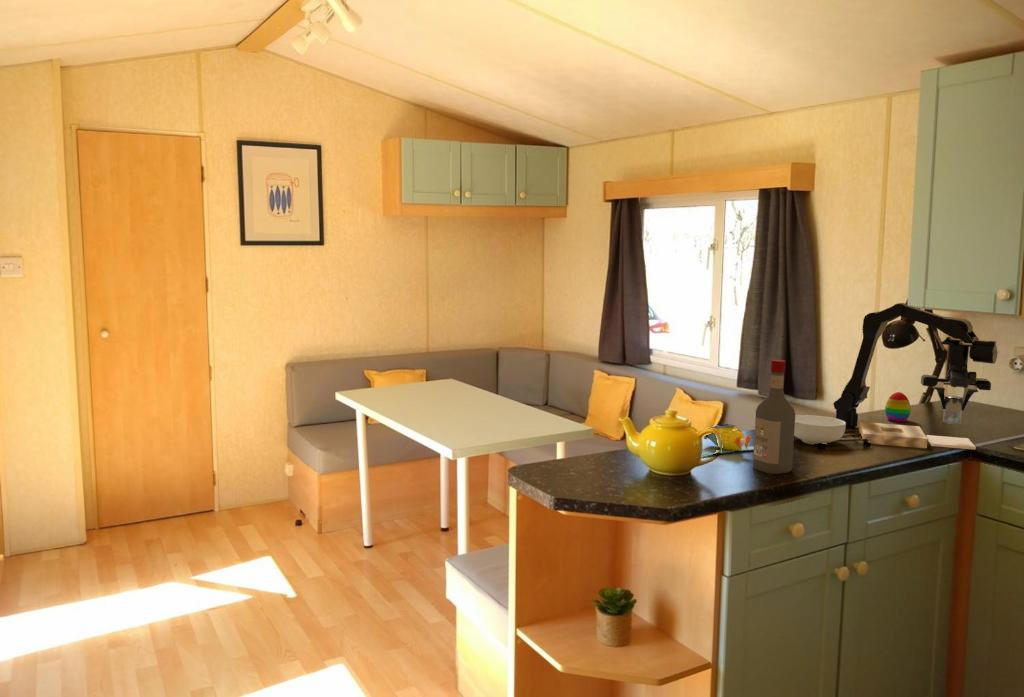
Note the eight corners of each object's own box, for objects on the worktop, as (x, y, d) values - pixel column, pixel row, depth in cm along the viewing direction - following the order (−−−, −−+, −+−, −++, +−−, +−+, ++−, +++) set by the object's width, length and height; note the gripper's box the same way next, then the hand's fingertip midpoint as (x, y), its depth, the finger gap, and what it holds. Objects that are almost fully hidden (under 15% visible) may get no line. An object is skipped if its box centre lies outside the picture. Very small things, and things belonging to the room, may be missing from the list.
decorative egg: (915, 422, 296) (917, 394, 295) (894, 423, 294) (896, 394, 293) (899, 417, 304) (901, 389, 303) (879, 418, 302) (881, 390, 301)
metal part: (944, 423, 264) (946, 397, 263) (941, 420, 268) (943, 395, 267) (962, 424, 262) (964, 399, 261) (959, 421, 267) (961, 396, 266)
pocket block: (862, 443, 265) (863, 433, 264) (858, 430, 282) (859, 421, 281) (926, 448, 259) (927, 438, 259) (918, 435, 276) (919, 426, 276)
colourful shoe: (705, 432, 239) (673, 422, 253) (704, 463, 240) (672, 451, 254) (783, 425, 251) (748, 415, 264) (781, 453, 252) (747, 443, 265)
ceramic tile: (931, 446, 262) (932, 443, 262) (926, 437, 274) (926, 434, 274) (975, 449, 259) (975, 447, 259) (967, 440, 270) (968, 438, 270)
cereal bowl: (856, 444, 262) (857, 422, 262) (820, 451, 254) (821, 428, 253) (810, 433, 277) (812, 412, 276) (775, 439, 268) (776, 417, 267)
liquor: (772, 475, 227) (778, 363, 223) (747, 467, 235) (753, 359, 231) (797, 471, 231) (803, 361, 227) (771, 463, 239) (778, 357, 235)
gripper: (927, 361, 258) (923, 412, 260) (997, 365, 252) (992, 417, 254) (922, 356, 268) (918, 405, 271) (989, 360, 263) (984, 410, 265)
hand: (952, 409), depth 265 cm, fingers closed on metal part, 5 cm apart
